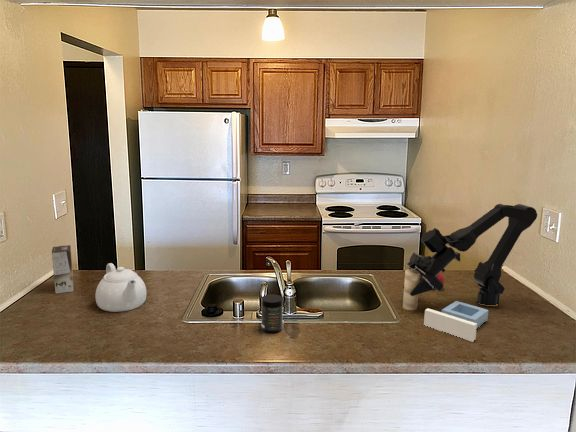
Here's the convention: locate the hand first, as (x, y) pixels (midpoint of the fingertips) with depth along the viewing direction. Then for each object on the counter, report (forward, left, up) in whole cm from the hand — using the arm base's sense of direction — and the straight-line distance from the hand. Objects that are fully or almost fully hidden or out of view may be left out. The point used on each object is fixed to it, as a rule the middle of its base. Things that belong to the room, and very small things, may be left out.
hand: (407, 291), depth 162 cm
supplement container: (+49, +12, -7) cm, 51 cm away
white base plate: (-13, +14, -7) cm, 20 cm away
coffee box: (+126, -29, -7) cm, 129 cm away
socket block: (-15, +12, -6) cm, 21 cm away
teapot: (+101, -13, -7) cm, 102 cm away
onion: (-19, -19, -7) cm, 28 cm away
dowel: (-1, 0, -7) cm, 7 cm away
